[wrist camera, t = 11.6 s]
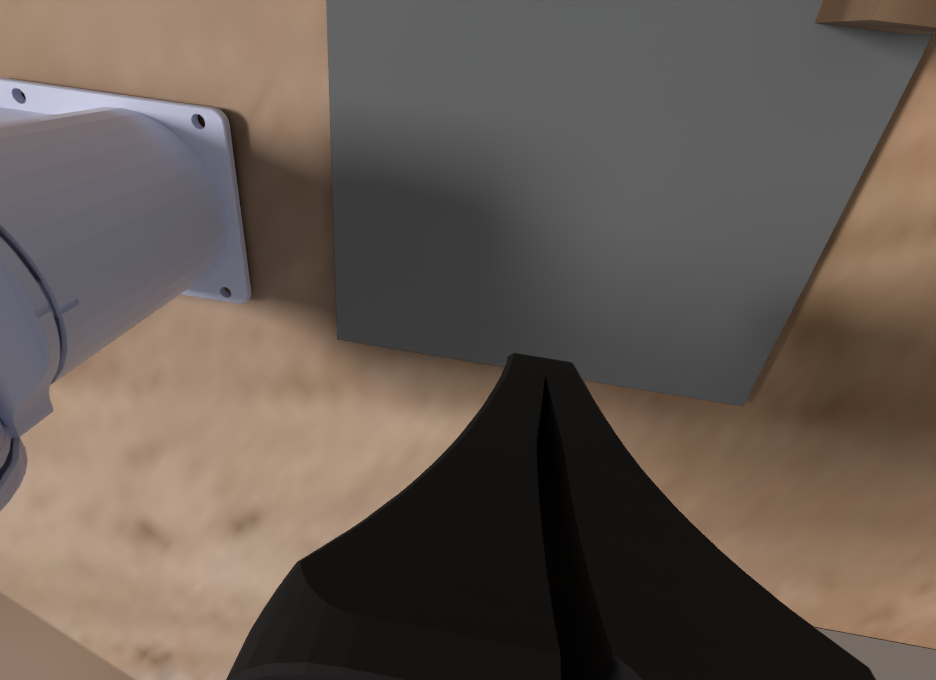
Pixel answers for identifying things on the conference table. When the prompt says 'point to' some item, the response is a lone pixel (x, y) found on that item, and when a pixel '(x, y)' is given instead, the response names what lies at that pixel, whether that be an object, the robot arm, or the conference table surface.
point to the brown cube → (881, 15)
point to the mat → (596, 177)
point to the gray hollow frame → (888, 657)
